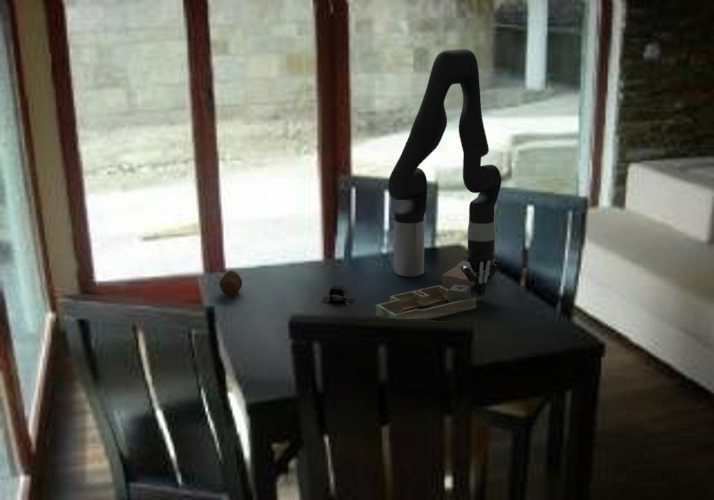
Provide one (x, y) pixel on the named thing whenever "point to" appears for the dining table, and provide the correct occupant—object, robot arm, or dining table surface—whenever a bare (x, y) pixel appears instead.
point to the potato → (230, 283)
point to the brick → (456, 277)
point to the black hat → (338, 300)
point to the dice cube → (459, 293)
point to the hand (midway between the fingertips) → (480, 294)
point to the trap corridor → (422, 304)
